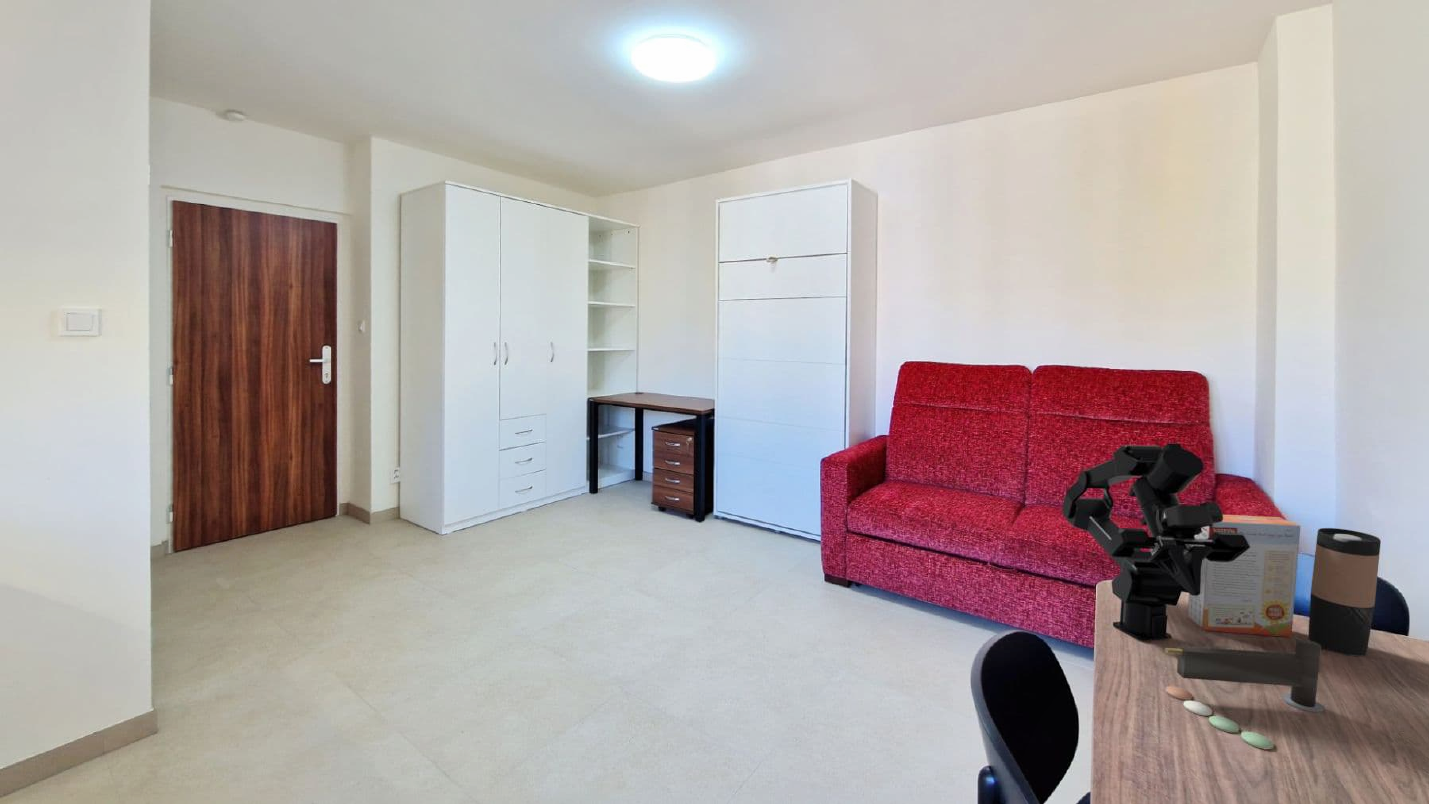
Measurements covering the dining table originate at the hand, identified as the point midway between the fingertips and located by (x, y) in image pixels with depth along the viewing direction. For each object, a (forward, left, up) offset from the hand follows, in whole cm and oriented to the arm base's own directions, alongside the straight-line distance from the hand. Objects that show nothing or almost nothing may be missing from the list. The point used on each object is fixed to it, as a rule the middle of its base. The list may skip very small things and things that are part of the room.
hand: (1196, 594), depth 94 cm
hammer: (+7, 0, -13) cm, 15 cm away
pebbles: (+10, +1, -13) cm, 16 cm away
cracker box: (-11, +24, -13) cm, 30 cm away
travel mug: (-2, +34, -13) cm, 36 cm away
